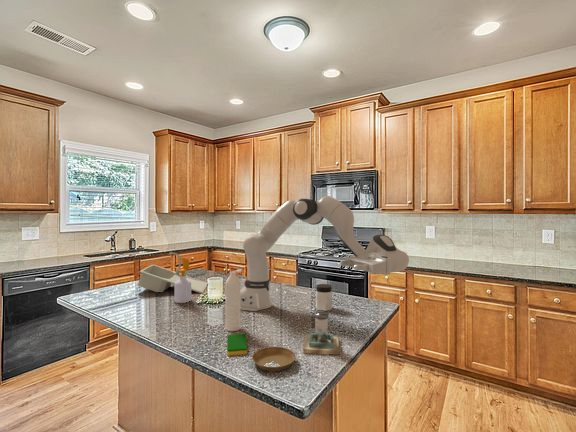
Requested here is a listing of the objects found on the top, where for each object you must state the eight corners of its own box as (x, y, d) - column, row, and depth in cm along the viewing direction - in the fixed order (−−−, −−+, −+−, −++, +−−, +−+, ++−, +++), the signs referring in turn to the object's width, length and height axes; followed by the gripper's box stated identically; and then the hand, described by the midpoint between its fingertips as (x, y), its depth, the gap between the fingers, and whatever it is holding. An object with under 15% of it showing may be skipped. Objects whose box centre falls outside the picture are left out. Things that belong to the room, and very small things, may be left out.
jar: (322, 312, 159) (322, 288, 159) (312, 307, 166) (312, 285, 166) (335, 309, 164) (335, 286, 164) (325, 305, 171) (325, 283, 170)
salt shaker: (314, 345, 117) (314, 315, 117) (314, 339, 122) (314, 311, 122) (328, 345, 116) (328, 316, 116) (328, 339, 122) (328, 311, 121)
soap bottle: (170, 302, 174) (170, 258, 174) (182, 298, 183) (182, 256, 182) (183, 304, 171) (183, 259, 170) (194, 299, 179) (194, 257, 179)
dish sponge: (245, 339, 126) (245, 333, 126) (247, 355, 113) (247, 348, 113) (227, 340, 125) (227, 334, 125) (227, 356, 111) (227, 350, 111)
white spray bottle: (234, 332, 132) (234, 273, 131) (222, 329, 135) (222, 272, 135) (246, 325, 140) (246, 270, 139) (235, 323, 143) (235, 268, 142)
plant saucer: (242, 366, 104) (242, 359, 104) (269, 350, 116) (269, 343, 116) (279, 380, 96) (279, 372, 96) (303, 360, 108) (303, 353, 108)
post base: (303, 353, 114) (303, 344, 114) (305, 338, 126) (305, 331, 126) (339, 355, 112) (339, 346, 112) (337, 340, 125) (337, 332, 125)
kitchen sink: (196, 309, 193) (210, 271, 193) (132, 288, 189) (147, 249, 189) (203, 298, 216) (215, 264, 217) (146, 279, 212) (159, 244, 213)
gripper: (360, 252, 139) (333, 254, 133) (393, 259, 121) (364, 261, 115) (359, 266, 139) (333, 268, 134) (393, 275, 121) (364, 278, 115)
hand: (348, 265), depth 124 cm, fingers open, 8 cm apart
